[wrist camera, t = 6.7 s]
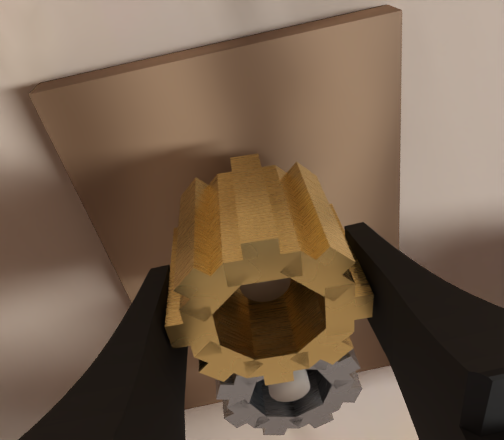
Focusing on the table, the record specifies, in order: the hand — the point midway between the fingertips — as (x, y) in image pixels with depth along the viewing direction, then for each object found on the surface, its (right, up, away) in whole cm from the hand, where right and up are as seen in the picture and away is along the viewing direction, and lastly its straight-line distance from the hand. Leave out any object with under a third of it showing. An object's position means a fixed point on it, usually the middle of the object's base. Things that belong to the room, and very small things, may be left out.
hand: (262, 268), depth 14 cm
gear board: (0, 0, +6) cm, 6 cm away
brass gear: (0, +1, +1) cm, 2 cm away
